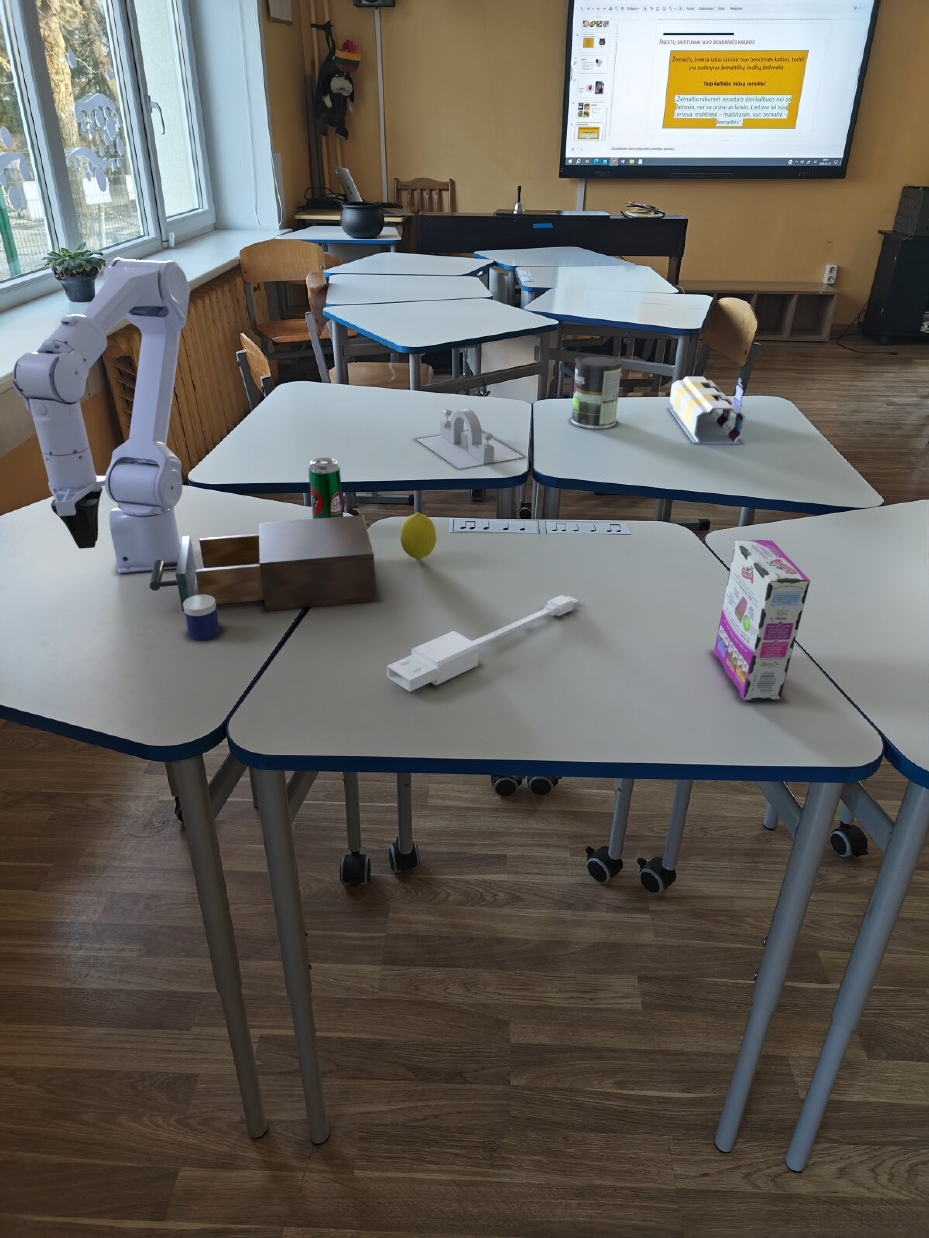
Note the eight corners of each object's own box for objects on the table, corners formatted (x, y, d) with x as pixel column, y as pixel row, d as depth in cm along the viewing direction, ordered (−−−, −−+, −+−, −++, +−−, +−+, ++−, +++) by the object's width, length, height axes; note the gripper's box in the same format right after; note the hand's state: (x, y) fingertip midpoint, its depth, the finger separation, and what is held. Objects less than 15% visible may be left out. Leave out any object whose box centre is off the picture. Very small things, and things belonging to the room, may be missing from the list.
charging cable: (585, 616, 122) (588, 595, 120) (411, 699, 102) (412, 675, 100) (559, 603, 125) (561, 582, 123) (385, 681, 105) (385, 658, 103)
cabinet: (265, 611, 120) (259, 563, 116) (264, 568, 132) (258, 523, 128) (376, 600, 123) (373, 553, 119) (365, 559, 135) (363, 515, 131)
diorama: (740, 443, 184) (751, 383, 177) (693, 443, 184) (702, 382, 177) (711, 409, 206) (720, 354, 199) (668, 409, 205) (675, 353, 199)
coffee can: (576, 429, 191) (581, 366, 184) (566, 416, 200) (571, 354, 193) (621, 428, 192) (628, 365, 185) (609, 414, 201) (615, 353, 194)
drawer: (151, 614, 117) (143, 577, 114) (159, 573, 128) (152, 538, 125) (288, 601, 121) (284, 565, 118) (285, 562, 131) (282, 528, 128)
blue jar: (189, 626, 116) (184, 595, 114) (220, 623, 117) (215, 593, 115) (187, 642, 113) (181, 610, 111) (219, 639, 114) (214, 607, 111)
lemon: (423, 571, 131) (422, 523, 127) (394, 562, 134) (392, 515, 130) (443, 557, 135) (442, 511, 131) (414, 549, 138) (413, 503, 134)
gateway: (493, 462, 173) (494, 423, 169) (483, 463, 172) (484, 424, 168) (449, 434, 188) (449, 397, 184) (440, 435, 187) (440, 399, 183)
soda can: (338, 537, 141) (333, 468, 135) (309, 534, 142) (303, 466, 136) (348, 525, 146) (343, 458, 140) (319, 522, 146) (314, 455, 140)
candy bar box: (783, 701, 103) (813, 580, 94) (743, 702, 102) (769, 581, 94) (749, 651, 112) (773, 537, 104) (712, 652, 112) (733, 538, 104)
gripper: (89, 465, 105) (111, 564, 112) (106, 429, 117) (125, 520, 124) (27, 469, 103) (54, 569, 110) (51, 432, 116) (73, 524, 122)
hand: (88, 543), depth 117 cm, fingers closed
